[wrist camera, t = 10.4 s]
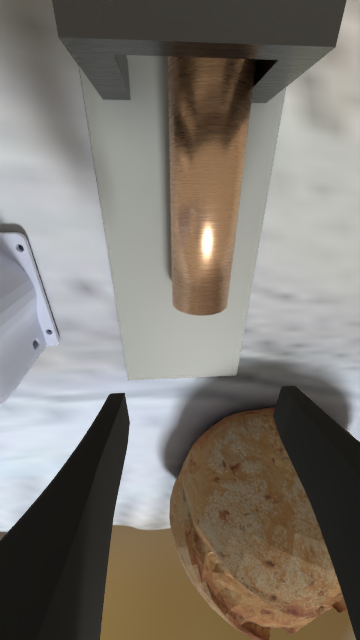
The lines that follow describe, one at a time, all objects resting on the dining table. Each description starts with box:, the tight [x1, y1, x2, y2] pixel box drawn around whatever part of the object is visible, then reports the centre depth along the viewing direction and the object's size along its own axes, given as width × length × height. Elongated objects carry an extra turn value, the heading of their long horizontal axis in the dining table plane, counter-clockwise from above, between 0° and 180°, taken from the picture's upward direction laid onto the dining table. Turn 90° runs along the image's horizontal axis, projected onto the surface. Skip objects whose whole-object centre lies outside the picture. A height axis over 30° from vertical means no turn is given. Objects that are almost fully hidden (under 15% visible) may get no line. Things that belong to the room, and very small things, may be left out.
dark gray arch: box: [52, 0, 346, 103], centre depth 10 cm, size 2×9×6 cm, turn 90°
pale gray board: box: [79, 55, 286, 380], centre depth 16 cm, size 29×11×1 cm, turn 0°
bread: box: [170, 406, 351, 640], centre depth 27 cm, size 26×23×15 cm
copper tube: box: [168, 56, 257, 316], centre depth 12 cm, size 18×4×4 cm
